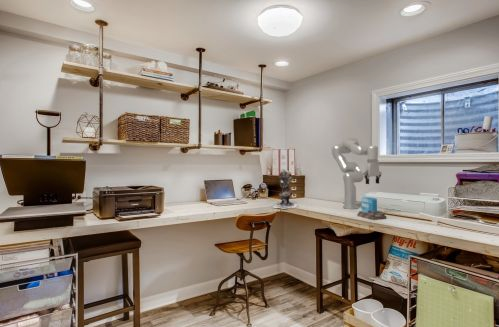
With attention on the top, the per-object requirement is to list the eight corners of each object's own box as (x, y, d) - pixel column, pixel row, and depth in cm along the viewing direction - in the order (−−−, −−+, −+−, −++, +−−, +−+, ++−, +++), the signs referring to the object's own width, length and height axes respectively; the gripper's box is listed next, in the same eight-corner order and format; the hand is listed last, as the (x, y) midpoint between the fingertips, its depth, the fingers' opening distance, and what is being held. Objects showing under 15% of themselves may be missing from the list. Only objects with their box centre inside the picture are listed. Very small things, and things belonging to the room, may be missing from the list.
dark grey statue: (267, 207, 259) (268, 168, 262) (277, 206, 282) (279, 170, 284) (290, 209, 249) (291, 169, 251) (299, 208, 271) (300, 170, 274)
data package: (361, 211, 235) (361, 197, 235) (365, 211, 237) (365, 196, 236) (372, 214, 224) (372, 198, 224) (377, 213, 225) (377, 198, 225)
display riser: (357, 216, 218) (357, 211, 218) (370, 214, 222) (370, 210, 222) (372, 220, 203) (372, 215, 203) (386, 218, 207) (386, 213, 207)
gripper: (377, 161, 232) (377, 182, 233) (360, 161, 226) (360, 183, 227) (385, 161, 225) (384, 183, 226) (366, 162, 219) (366, 184, 220)
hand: (372, 183), depth 226 cm, fingers open, 9 cm apart
